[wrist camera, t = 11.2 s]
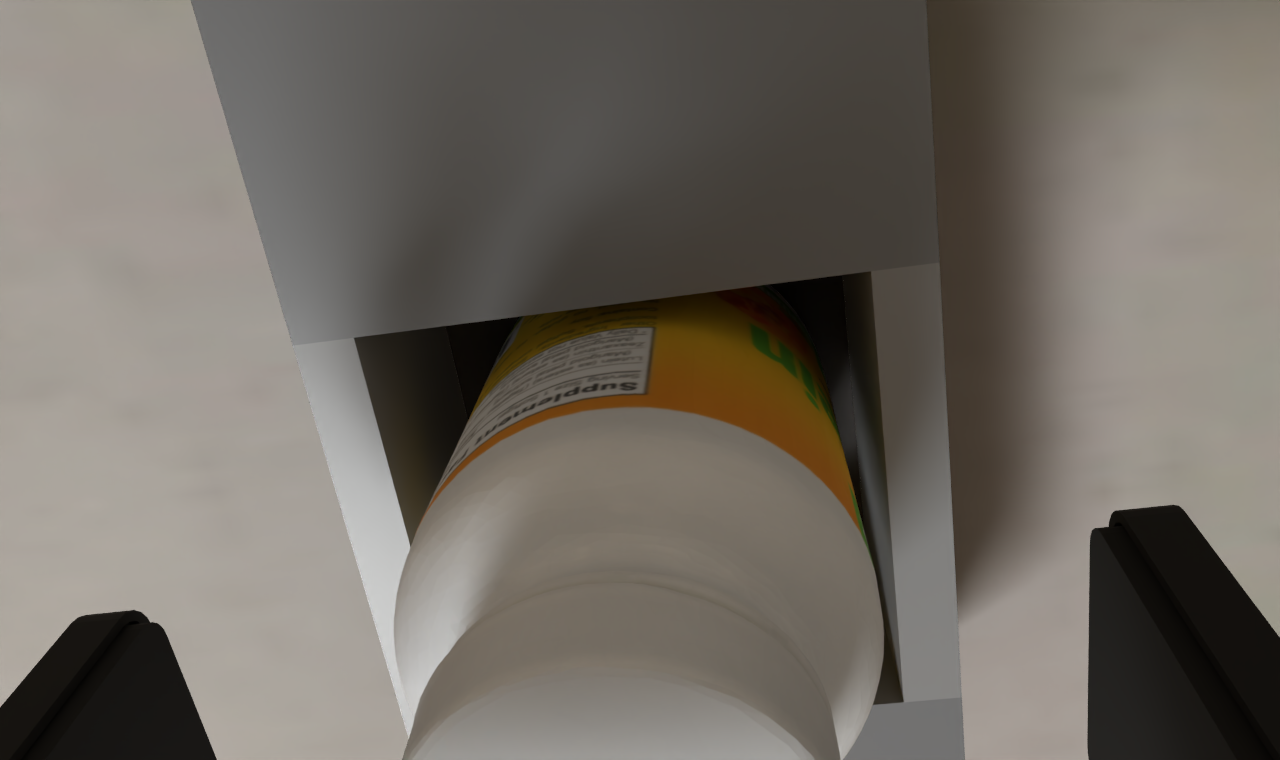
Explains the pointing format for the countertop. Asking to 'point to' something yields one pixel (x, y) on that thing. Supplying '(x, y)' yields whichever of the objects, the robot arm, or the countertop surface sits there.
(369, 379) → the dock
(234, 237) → the countertop surface
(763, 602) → the supplement bottle
